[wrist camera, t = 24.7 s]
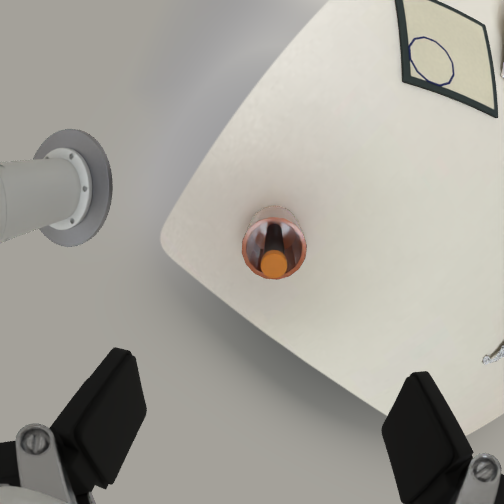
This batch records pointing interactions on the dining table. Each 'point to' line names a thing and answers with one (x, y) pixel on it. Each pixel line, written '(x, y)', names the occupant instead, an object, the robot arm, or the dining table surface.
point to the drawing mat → (446, 53)
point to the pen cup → (257, 234)
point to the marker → (274, 253)
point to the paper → (486, 360)
